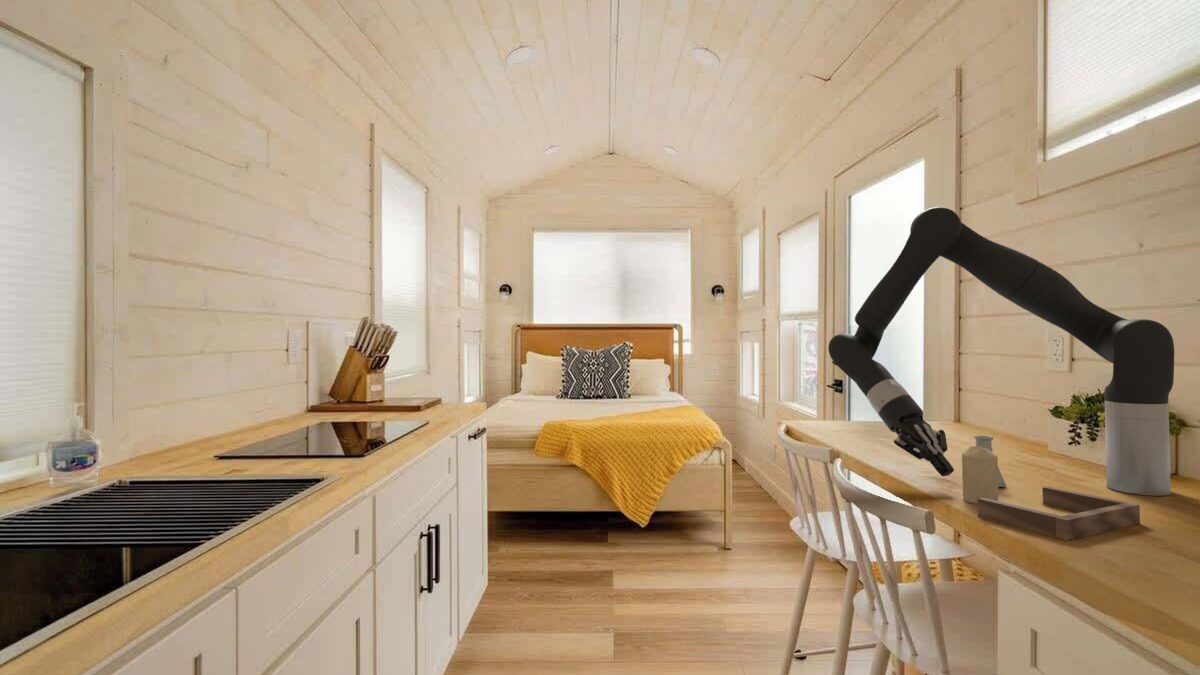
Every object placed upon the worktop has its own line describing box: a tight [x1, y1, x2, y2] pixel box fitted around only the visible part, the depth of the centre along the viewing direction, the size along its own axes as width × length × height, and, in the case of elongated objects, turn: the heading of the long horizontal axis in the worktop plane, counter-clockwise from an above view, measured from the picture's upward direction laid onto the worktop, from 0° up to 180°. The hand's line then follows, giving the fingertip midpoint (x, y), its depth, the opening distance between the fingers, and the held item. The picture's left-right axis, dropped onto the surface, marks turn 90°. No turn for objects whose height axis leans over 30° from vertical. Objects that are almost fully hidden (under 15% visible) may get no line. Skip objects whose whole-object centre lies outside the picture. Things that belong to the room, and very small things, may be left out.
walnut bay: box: [977, 486, 1141, 541], centre depth 97 cm, size 19×14×3 cm
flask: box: [973, 434, 1007, 488], centre depth 121 cm, size 7×7×10 cm
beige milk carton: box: [961, 445, 999, 505], centre depth 108 cm, size 6×6×10 cm
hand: (948, 473), depth 114 cm, fingers closed
